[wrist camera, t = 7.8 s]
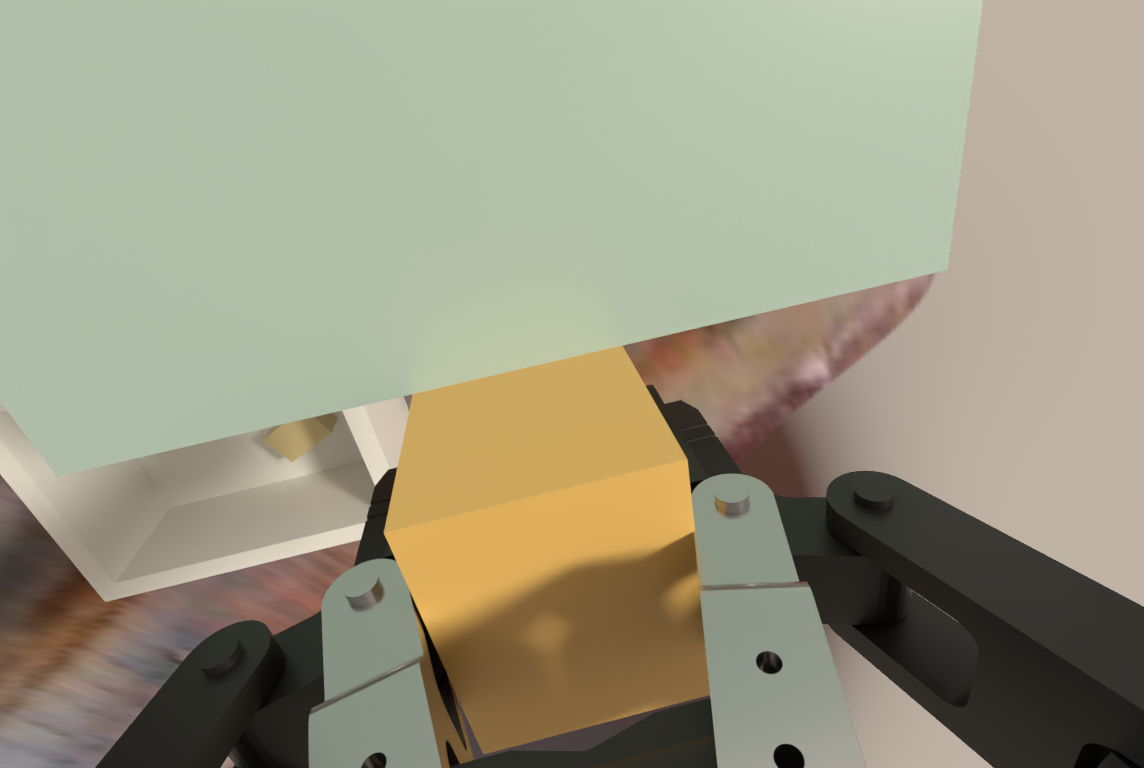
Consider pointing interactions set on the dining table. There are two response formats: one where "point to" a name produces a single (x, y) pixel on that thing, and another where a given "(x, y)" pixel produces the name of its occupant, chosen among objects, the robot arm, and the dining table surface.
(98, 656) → the dining table surface
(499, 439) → the lid
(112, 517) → the tub
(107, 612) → the dining table surface
